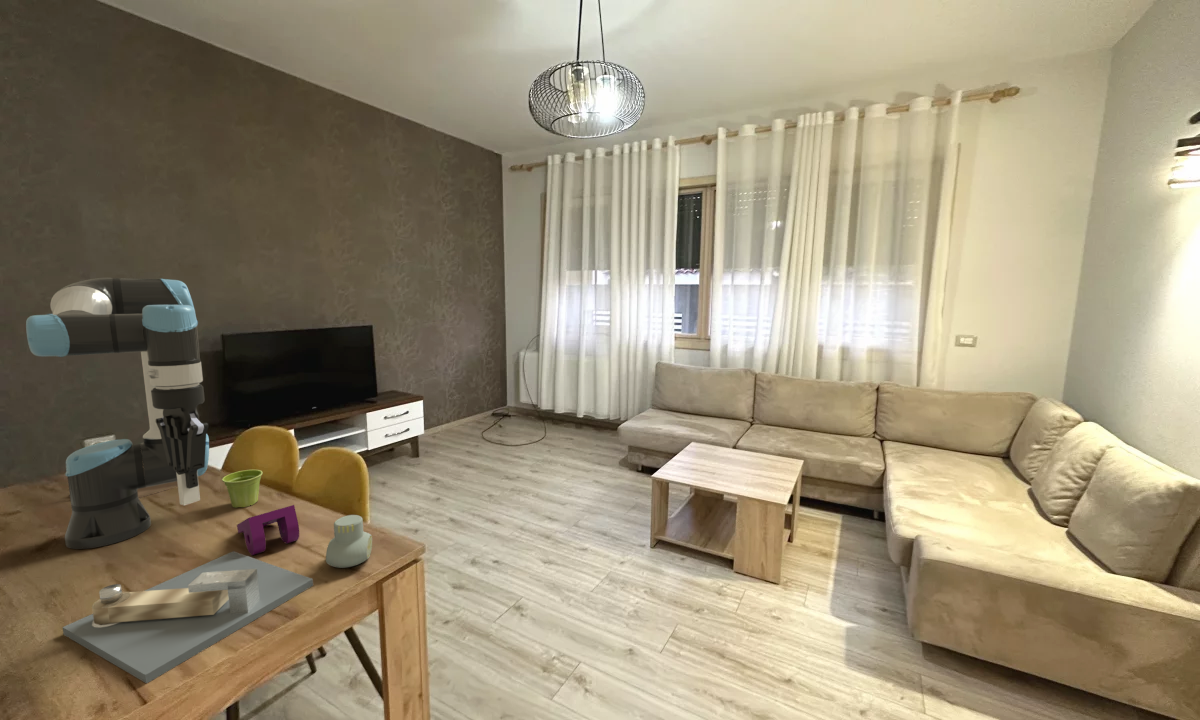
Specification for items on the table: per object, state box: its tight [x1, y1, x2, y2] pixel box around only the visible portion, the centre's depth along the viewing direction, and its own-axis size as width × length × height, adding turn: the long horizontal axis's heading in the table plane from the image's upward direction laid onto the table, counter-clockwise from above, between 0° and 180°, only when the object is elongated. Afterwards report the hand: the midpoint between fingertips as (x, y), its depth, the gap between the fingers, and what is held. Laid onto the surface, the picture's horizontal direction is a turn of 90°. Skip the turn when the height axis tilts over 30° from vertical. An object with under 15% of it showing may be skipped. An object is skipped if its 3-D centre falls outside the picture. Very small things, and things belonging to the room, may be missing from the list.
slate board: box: [62, 550, 314, 684], centre depth 93 cm, size 27×28×2 cm
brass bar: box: [91, 588, 229, 624], centre depth 88 cm, size 20×5×3 cm, turn 98°
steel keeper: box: [188, 569, 260, 614], centre depth 90 cm, size 10×4×6 cm, turn 99°
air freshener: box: [325, 514, 373, 569], centre depth 109 cm, size 11×8×10 cm
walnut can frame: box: [137, 468, 178, 499], centre depth 148 cm, size 19×19×3 cm
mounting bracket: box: [236, 504, 300, 556], centre depth 119 cm, size 9×8×18 cm
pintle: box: [92, 583, 123, 628], centre depth 87 cm, size 6×6×6 cm
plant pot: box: [221, 469, 263, 509], centre depth 138 cm, size 9×9×9 cm
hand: (190, 502), depth 94 cm, fingers closed
